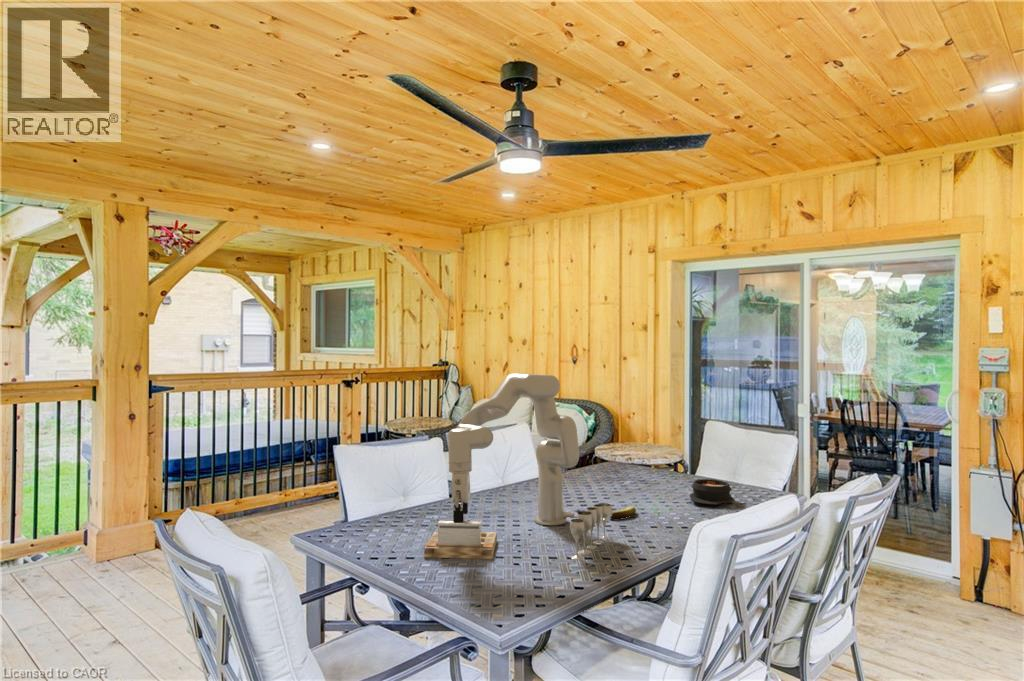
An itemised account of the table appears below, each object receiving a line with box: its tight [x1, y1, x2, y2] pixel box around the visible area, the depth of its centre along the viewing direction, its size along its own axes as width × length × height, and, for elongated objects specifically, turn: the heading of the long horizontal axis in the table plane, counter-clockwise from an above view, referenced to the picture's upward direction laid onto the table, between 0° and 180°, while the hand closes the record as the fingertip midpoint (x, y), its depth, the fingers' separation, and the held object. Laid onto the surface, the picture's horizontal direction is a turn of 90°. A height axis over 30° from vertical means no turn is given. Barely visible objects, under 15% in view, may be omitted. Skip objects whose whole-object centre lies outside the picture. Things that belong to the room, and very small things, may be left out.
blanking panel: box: [437, 520, 482, 548], centre depth 194 cm, size 14×3×10 cm, turn 86°
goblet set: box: [569, 502, 614, 561], centre depth 202 cm, size 28×6×13 cm, turn 148°
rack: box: [423, 530, 498, 560], centre depth 200 cm, size 22×18×3 cm
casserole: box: [689, 478, 734, 506], centre depth 263 cm, size 25×19×8 cm
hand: (460, 518), depth 195 cm, fingers open, 9 cm apart
